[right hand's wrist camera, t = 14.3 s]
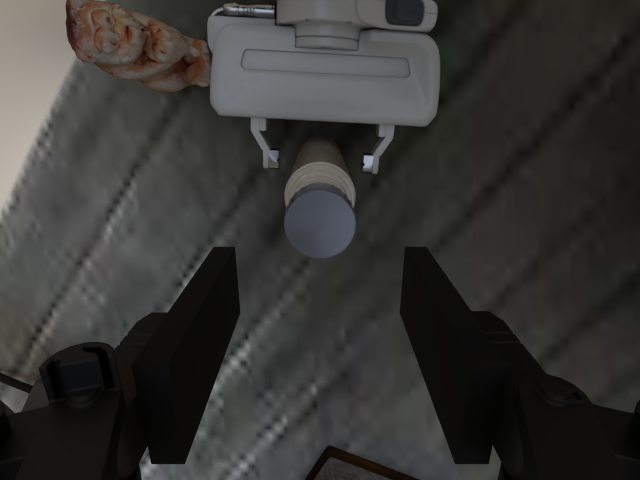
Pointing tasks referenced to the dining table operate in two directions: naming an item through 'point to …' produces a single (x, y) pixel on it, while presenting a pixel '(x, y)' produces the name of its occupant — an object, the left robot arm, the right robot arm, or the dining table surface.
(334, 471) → the bust
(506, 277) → the dining table surface
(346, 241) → the cap
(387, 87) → the left robot arm
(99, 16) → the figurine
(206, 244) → the dining table surface
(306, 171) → the bottle
